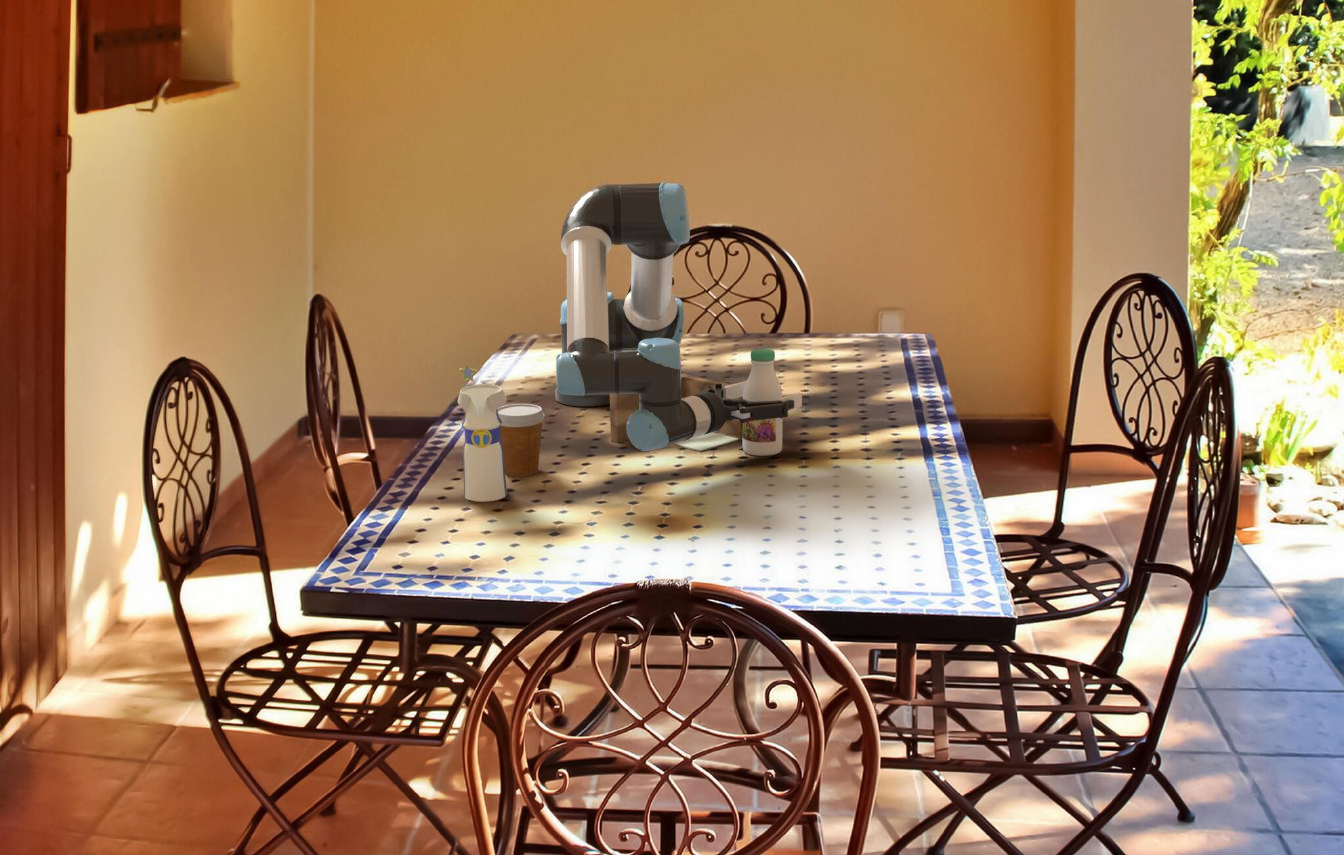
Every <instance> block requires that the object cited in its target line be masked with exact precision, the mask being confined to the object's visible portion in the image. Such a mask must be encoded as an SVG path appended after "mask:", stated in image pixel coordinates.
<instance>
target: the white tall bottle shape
mask: <svg viewBox="0 0 1344 855" xmlns="http://www.w3.org/2000/svg"><path fill="white" fill-rule="evenodd" d="M458 371H459V372H460V373H462V375H463V376H462V382H464V381H467V380H469V381H471V382H473V383H474V382H475V380H474V377H473V375H474V374H475V373H477V371H478V370H477V369H474V368H473V369H472V368H471V367H470V365H469V363H468V362H467V363H466V365H465V367H464V368H458ZM507 400H508V398H507V394H506V393H505V392H504V389H503V388H502V386H500V385H496V384H488V383H487V384H486V383H484V384H481V383H480V384H473V385H468V386H464V387H463V388H461V389H460V391H459V395H458V398H457V404H458V405H459V406H460V407H461V408H462V410H464V418H463V420H462V421H461V426H463V428H464V443H463V447H462V449H463V450H462V456H463V457H462V461H463V498H465V499H466V500H467V501H472V502H493V501H499V500H501V499H503V498H506V497H507V496H508V488H507V479H506V476H507V475H506V474H505V464H504V449H503V444H502V441H501V437H500V425H501V423H502V420H501V419H500V418H499V415H498V408H500V407H501V406H505V404H506V403H507Z"/></svg>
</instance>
